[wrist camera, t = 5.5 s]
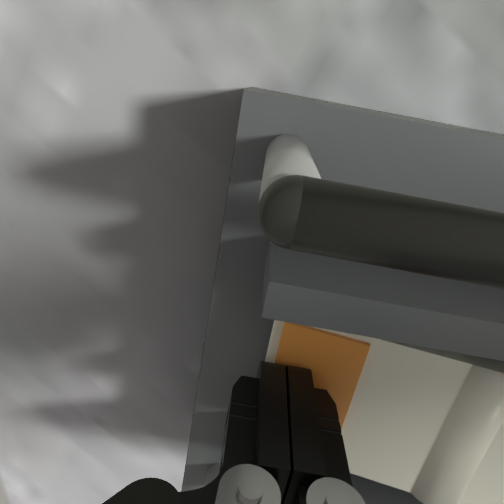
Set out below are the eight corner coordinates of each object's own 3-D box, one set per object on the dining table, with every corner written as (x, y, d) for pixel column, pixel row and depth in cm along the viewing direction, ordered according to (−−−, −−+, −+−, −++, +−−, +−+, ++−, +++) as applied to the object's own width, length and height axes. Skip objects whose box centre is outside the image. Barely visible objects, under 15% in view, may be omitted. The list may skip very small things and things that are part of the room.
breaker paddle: (712, 401, 11) (773, 454, 9) (616, 520, 13) (653, 580, 11) (284, 287, 13) (274, 315, 11) (256, 407, 15) (244, 446, 13)
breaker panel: (684, 169, 15) (1350, 314, 6) (503, 473, 21) (677, 776, 12) (252, 87, 15) (208, 99, 5) (198, 419, 21) (136, 687, 12)
